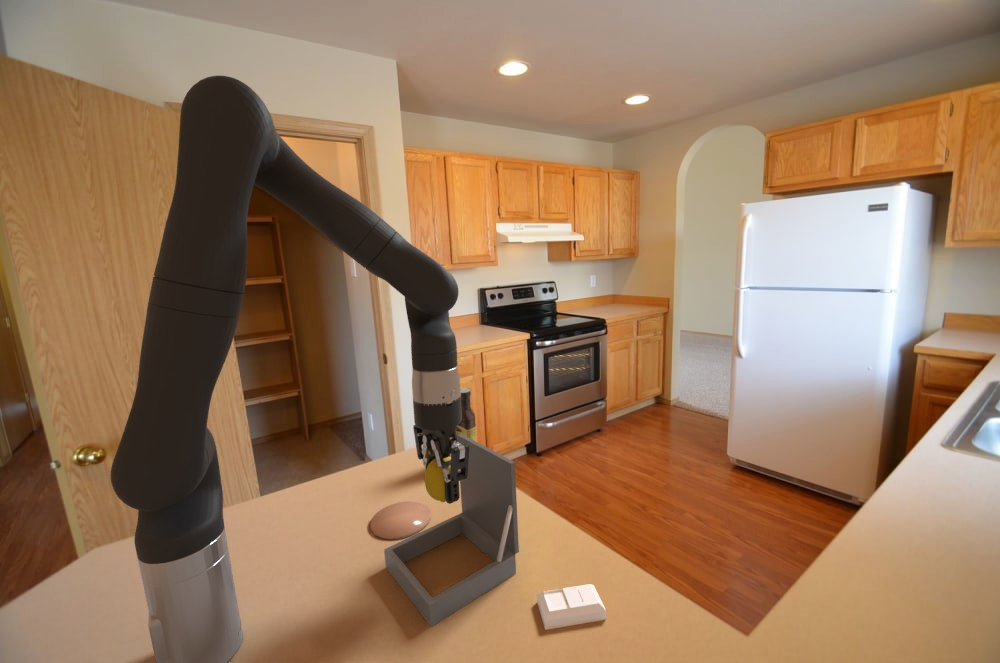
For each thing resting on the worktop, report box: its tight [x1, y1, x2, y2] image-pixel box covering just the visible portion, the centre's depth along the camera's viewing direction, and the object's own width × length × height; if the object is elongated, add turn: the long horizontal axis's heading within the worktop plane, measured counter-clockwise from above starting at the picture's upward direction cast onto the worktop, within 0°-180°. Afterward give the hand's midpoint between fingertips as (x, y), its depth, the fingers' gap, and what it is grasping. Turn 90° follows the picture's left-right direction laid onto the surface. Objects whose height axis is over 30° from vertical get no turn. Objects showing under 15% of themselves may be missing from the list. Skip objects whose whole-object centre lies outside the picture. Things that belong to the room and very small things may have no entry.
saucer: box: [370, 501, 432, 540], centre depth 86 cm, size 12×12×1 cm
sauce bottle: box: [455, 387, 478, 443], centre depth 109 cm, size 7×6×20 cm
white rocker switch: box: [536, 583, 607, 631], centre depth 62 cm, size 5×9×3 cm, turn 98°
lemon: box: [424, 457, 451, 503], centre depth 69 cm, size 6×6×8 cm
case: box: [383, 434, 520, 628], centre depth 70 cm, size 17×16×20 cm
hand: (442, 493), depth 69 cm, fingers closed on lemon, 5 cm apart
